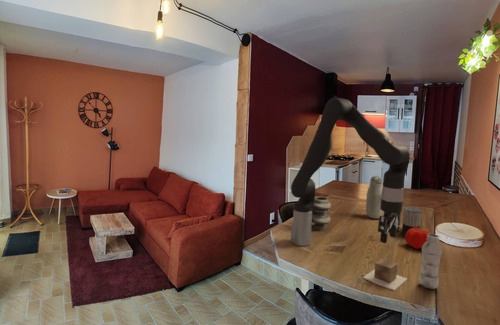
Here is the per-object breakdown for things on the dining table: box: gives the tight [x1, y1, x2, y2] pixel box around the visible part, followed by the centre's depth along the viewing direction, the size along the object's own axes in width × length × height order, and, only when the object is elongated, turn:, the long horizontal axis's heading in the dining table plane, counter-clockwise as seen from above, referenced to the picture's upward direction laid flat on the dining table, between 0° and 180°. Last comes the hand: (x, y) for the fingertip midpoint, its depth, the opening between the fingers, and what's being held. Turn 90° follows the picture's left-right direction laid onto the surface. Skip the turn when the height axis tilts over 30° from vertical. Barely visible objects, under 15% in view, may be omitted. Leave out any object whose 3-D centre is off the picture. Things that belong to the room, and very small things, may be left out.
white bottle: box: [365, 175, 384, 220], centre depth 193 cm, size 10×10×28 cm
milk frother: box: [388, 206, 423, 237], centre depth 167 cm, size 14×16×15 cm
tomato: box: [404, 227, 430, 250], centre depth 148 cm, size 11×12×9 cm
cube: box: [374, 258, 398, 283], centre depth 116 cm, size 6×6×6 cm
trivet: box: [362, 268, 408, 292], centre depth 116 cm, size 12×12×1 cm
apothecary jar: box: [311, 195, 332, 232], centre depth 173 cm, size 12×12×18 cm
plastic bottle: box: [418, 233, 443, 290], centre depth 110 cm, size 6×7×20 cm
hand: (388, 239), depth 114 cm, fingers open, 8 cm apart
